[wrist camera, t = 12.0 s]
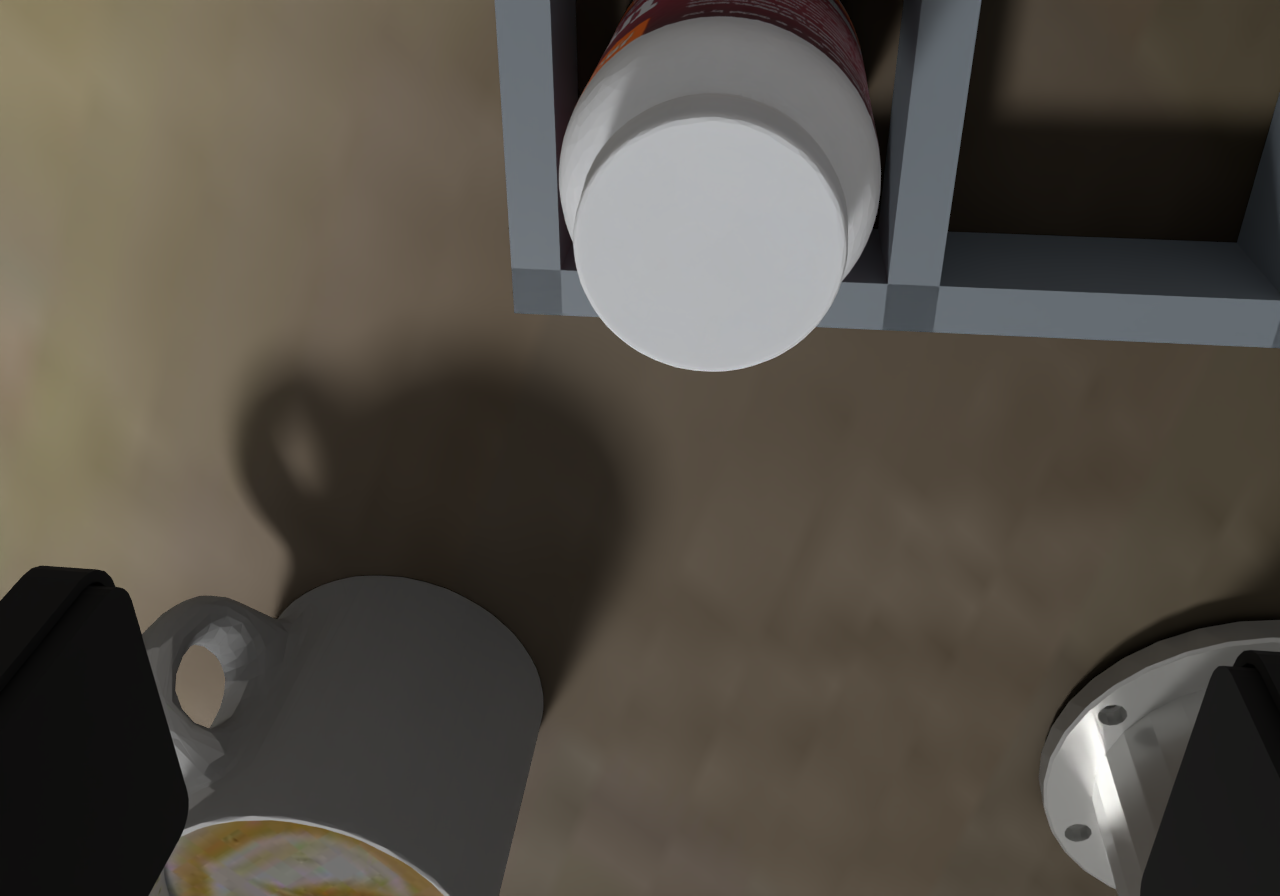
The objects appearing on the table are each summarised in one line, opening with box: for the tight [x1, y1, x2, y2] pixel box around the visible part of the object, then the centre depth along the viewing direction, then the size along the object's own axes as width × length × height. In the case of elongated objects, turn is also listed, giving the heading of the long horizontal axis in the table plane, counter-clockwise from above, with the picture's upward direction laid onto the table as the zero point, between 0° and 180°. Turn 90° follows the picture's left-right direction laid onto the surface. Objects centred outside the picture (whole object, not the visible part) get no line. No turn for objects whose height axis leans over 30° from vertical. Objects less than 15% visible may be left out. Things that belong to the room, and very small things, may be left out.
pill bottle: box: [559, 0, 881, 371], centre depth 24 cm, size 6×6×11 cm
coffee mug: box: [142, 576, 543, 896], centre depth 36 cm, size 13×10×10 cm
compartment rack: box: [495, 0, 1280, 348], centre depth 27 cm, size 11×19×4 cm, turn 90°
